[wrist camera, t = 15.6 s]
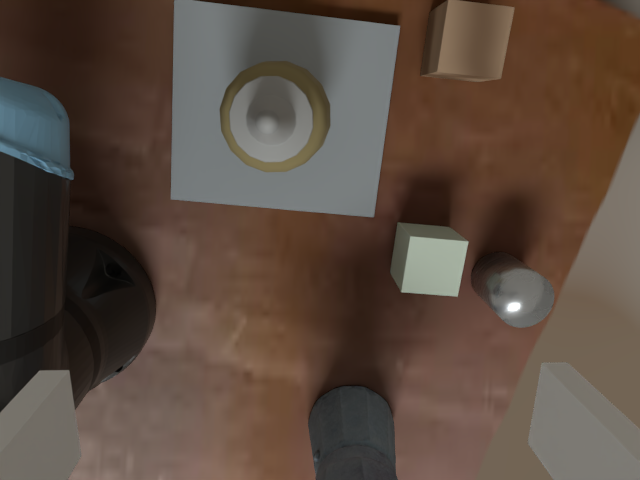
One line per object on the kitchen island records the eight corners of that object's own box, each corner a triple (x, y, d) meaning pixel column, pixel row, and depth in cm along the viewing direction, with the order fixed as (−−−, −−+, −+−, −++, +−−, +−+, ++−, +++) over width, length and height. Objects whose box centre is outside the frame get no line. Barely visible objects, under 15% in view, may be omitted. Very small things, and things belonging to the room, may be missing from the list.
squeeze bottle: (238, 55, 38) (189, 12, 20) (336, 74, 38) (368, 48, 21) (226, 155, 40) (172, 192, 23) (319, 171, 41) (335, 218, 23)
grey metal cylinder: (466, 298, 46) (491, 325, 40) (476, 249, 45) (503, 271, 39) (515, 301, 46) (546, 329, 41) (526, 253, 45) (560, 275, 39)
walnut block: (419, 75, 40) (437, 71, 35) (429, 12, 39) (448, -1, 34) (476, 81, 40) (500, 78, 36) (487, 19, 39) (514, 7, 34)
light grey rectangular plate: (173, 197, 42) (170, 199, 41) (177, 0, 37) (174, -2, 36) (372, 214, 43) (373, 217, 42) (397, 27, 39) (400, 25, 38)
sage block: (389, 272, 45) (401, 292, 40) (397, 222, 43) (410, 236, 39) (440, 276, 45) (457, 296, 40) (449, 226, 44) (468, 241, 39)
